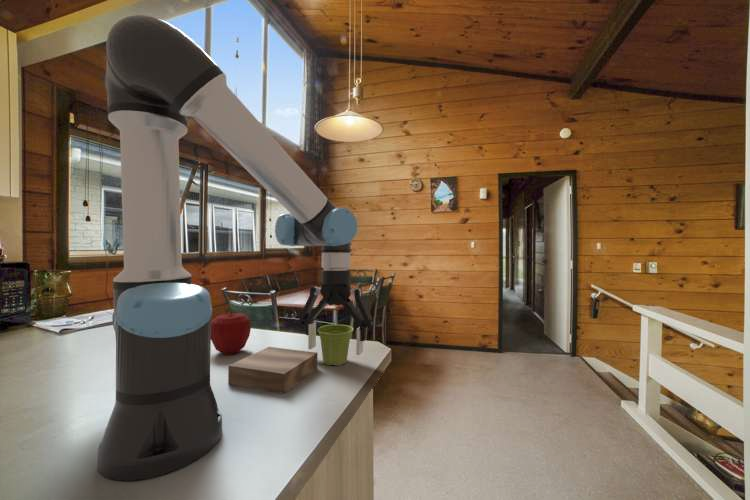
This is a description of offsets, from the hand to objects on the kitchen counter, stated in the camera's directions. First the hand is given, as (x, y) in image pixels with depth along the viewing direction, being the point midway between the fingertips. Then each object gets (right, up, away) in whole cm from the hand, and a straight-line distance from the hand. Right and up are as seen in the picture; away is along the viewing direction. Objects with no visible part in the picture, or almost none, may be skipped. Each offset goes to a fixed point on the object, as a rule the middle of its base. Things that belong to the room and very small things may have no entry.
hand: (335, 350), depth 82 cm
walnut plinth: (-13, -3, -10) cm, 16 cm away
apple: (-30, -3, +7) cm, 31 cm away
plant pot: (0, -3, 0) cm, 3 cm away
